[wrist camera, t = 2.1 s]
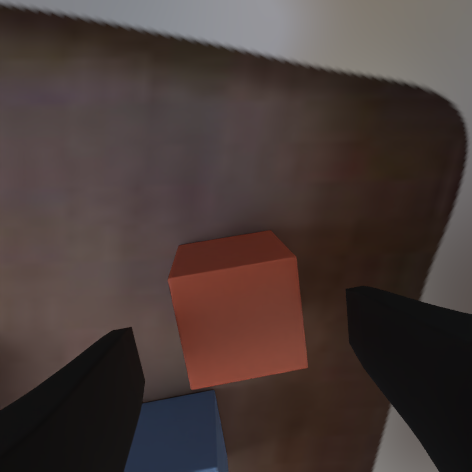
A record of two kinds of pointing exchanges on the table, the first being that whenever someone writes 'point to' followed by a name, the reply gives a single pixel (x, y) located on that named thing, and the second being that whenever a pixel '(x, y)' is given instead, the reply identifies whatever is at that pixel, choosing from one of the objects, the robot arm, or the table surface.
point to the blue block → (179, 436)
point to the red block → (238, 309)
